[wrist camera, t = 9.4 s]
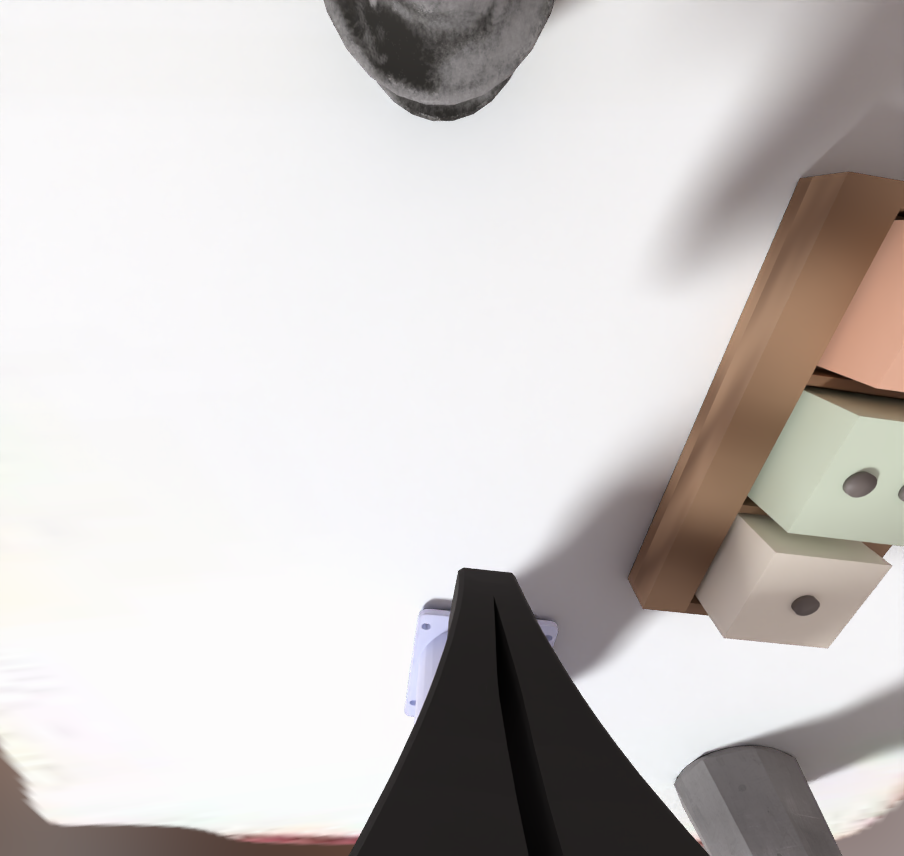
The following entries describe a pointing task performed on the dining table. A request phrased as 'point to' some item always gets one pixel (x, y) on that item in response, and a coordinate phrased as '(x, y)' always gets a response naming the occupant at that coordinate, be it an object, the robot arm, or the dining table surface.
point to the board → (766, 377)
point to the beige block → (786, 583)
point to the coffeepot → (753, 805)
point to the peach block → (874, 322)
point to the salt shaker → (440, 48)
